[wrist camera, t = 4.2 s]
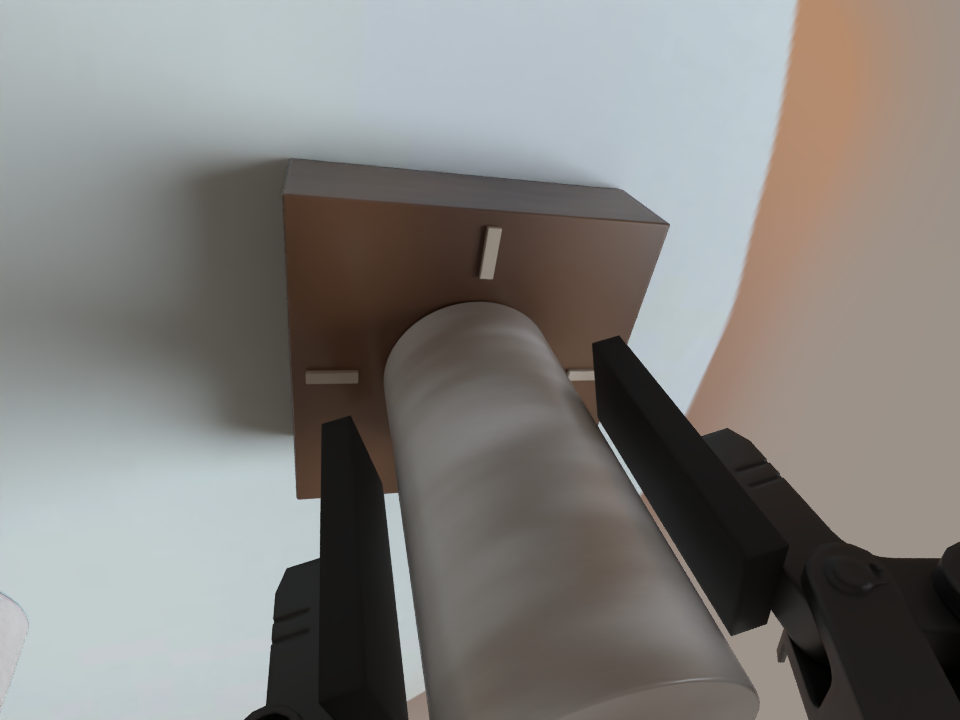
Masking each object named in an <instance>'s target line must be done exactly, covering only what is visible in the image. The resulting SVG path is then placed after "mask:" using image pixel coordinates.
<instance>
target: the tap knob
mask: <svg viewBox="0 0 960 720" xmlns="http://www.w3.org/2000/svg"><path fill="white" fill-rule="evenodd" d="M384 392H385V400H386V407H387V414H388V421H389V429H390V436H391V443H392V450H393V458H394V465H395V472H396V479H397V487H398V494H399V501H400V508H401V516H402V523H403V530H404V537H405V544H406V552H407V559H408V566H409V573H410V581H411V588H412V595H413V602H414V610H415V617H416V624H417V631H418V639H419V646H420V653H421V660H422V668H423V675H424V682H425V689H426V696H427V704H428V711H429V718H430V720H755V718H756V716H757V713H758V711H759V703H760V701H759V697H758V694H757V691H756V689H755V688H754V686H753V684H752V683H751V681H750V679H749V678H748V676H747V674H746V673H745V671H744V669H743V668H742V666H741V664H740V663H739V661H738V659H737V658H736V656H735V654H734V653H733V651H732V649H731V648H730V646H729V644H728V643H727V641H726V639H725V638H724V636H723V634H722V633H721V631H720V629H719V628H718V626H717V624H716V623H715V621H714V619H713V618H712V616H711V614H710V613H709V611H708V609H707V608H706V606H705V605H704V603H703V601H702V599H701V598H700V596H699V594H698V593H697V591H696V589H695V587H694V586H693V584H692V583H691V581H690V579H689V577H688V576H687V574H686V572H685V571H684V569H683V568H682V566H681V564H680V562H679V561H678V559H677V557H676V556H675V554H674V552H673V551H672V549H671V547H670V546H669V544H668V543H667V541H666V539H665V538H664V536H663V534H662V532H661V531H660V530H659V527H658V526H657V524H656V522H655V521H654V519H653V517H652V516H651V514H650V512H649V511H648V509H647V507H646V506H645V504H644V503H643V501H642V499H641V497H640V496H639V494H638V492H637V491H636V489H635V487H634V486H633V484H632V482H631V481H630V479H629V477H628V476H627V474H626V472H625V471H624V469H623V467H622V466H621V464H620V462H619V461H618V459H617V457H616V456H615V454H614V452H613V451H612V449H611V447H610V446H609V444H608V442H607V441H606V439H605V437H604V436H603V434H602V432H601V431H600V429H599V427H598V426H597V424H596V422H595V421H594V419H593V417H592V416H591V414H590V412H589V411H588V409H587V407H586V406H585V404H584V402H583V401H582V399H581V397H580V396H579V394H578V392H577V391H576V389H575V387H574V386H573V384H572V382H571V381H570V379H569V377H568V376H567V374H566V372H565V371H564V369H563V367H562V366H561V364H560V362H559V361H558V359H557V357H556V356H555V354H554V352H553V351H552V349H551V347H550V346H549V344H548V342H547V341H546V339H545V337H544V336H543V334H542V332H541V331H540V330H539V328H538V327H537V325H536V324H535V323H534V322H533V321H532V320H531V319H529V318H528V317H527V316H525V315H524V314H523V313H521V312H519V311H517V310H515V309H513V308H510V307H507V306H505V305H501V304H496V303H491V302H467V303H460V304H455V305H452V306H448V307H445V308H442V309H440V310H437V311H435V312H433V313H431V314H429V315H427V316H425V317H424V318H422V319H421V320H419V321H418V322H416V323H415V324H414V325H413V326H412V327H410V328H409V329H408V330H407V331H406V332H405V333H404V334H403V335H402V337H401V338H400V339H399V340H398V342H397V343H396V345H395V346H394V347H393V349H392V351H391V353H390V355H389V357H388V360H387V363H386V366H385V371H384Z"/></svg>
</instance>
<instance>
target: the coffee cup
mask: <svg viewBox="0 0 960 720" xmlns="http://www.w3.org/2000/svg"><path fill="white" fill-rule="evenodd" d="M28 629H29V624H28V620H27V617H26V615H25V613H24V612H23V611H22V609H21V608H20V607H19V606H18V605H17V604H16V603H14V602H13V601H12V600H10V599H9V598H7V597H6V596H4V595H2V594H1V593H0V712H1V709H2V706H3V703H4V701H5V698H6V695H7V692H8V689H9V686H10V683H11V680H12V678H13V675H14V672H15V669H16V666H17V663H18V660H19V657H20V655H21V652H22V649H23V646H24V643H25V640H26V637H27V634H28Z"/></svg>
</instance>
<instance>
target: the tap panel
mask: <svg viewBox="0 0 960 720" xmlns="http://www.w3.org/2000/svg"><path fill="white" fill-rule="evenodd" d="M282 203H283V223H284V244H285V265H286V286H287V307H288V328H289V349H290V370H291V391H292V412H293V433H294V454H295V475H296V496H297V499H299V500H300V499H315V498H321V427H322V424H323V423H326V422H330V421H333V420H336V419H340V418H343V417H346V416H350V415H351V417H352V419H353V421H354V423H355V425H356V427H357V430H358V432H359V434H360V436H361V438H362V440H363V443H364V445H365V447H366V449H367V451H368V453H369V455H370V458H371V460H372V462H373V464H374V466H375V468H376V470H377V473H378V475H379V477H380V479H381V481H382V483H383V492H384V494H388V493H398V487H397V479H396V472H395V465H394V458H393V450H392V443H391V436H390V429H389V421H388V414H387V407H386V400H385V392H384V371H385V366H386V363H387V360H388V357H389V355H390V353H391V351H392V349H393V347H394V346H395V345H396V343H397V342H398V340H399V339H400V338H401V337H402V335H403V334H404V333H405V332H406V331H407V330H408V329H409V328H410V327H412V326H413V325H414V324H415V323H416V322H418V321H419V320H421V319H422V318H424V317H425V316H427V315H429V314H431V313H433V312H435V311H437V310H440V309H442V308H445V307H448V306H452V305H455V304H460V303H467V302H491V303H496V304H501V305H505V306H507V307H510V308H513V309H515V310H517V311H519V312H521V313H523V314H524V315H525V316H527V317H528V318H529V319H531V320H532V321H533V322H534V323H535V324H536V325H537V327H538V328H539V330H540V331H541V332H542V334H543V336H544V337H545V339H546V341H547V342H548V344H549V346H550V347H551V349H552V351H553V352H554V354H555V356H556V357H557V359H558V361H559V362H560V364H561V366H562V367H563V369H564V371H565V372H566V374H567V376H568V377H569V379H570V381H571V382H572V384H573V386H574V387H575V389H576V391H577V392H578V394H579V396H580V397H581V399H582V401H583V402H584V404H585V406H586V407H587V409H588V411H589V412H590V414H591V416H592V417H593V419H594V421H595V422H596V424H597V426H598V424H599V419H598V417H597V405H596V391H595V378H594V365H593V352H592V343H594V342H598V341H601V340H604V339H608V338H611V337H615V336H618V335H619V336H620V337H621V338H622V339H623V341H624V342H625V343H626V344H627V343H628V340H629V338H630V335H631V332H632V329H633V327H634V324H635V321H636V318H637V315H638V313H639V310H640V307H641V304H642V301H643V299H644V296H645V293H646V290H647V288H648V285H649V282H650V279H651V276H652V274H653V271H654V268H655V265H656V263H657V260H658V257H659V254H660V251H661V249H662V246H663V243H664V240H665V238H666V235H667V232H668V229H669V226H670V224H669V223H667V222H666V221H665V220H663V219H662V218H661V217H659V216H658V215H656V214H655V213H654V212H652V211H651V210H650V209H648V208H647V207H645V206H644V205H643V204H641V203H640V202H639V201H637V200H636V199H635V198H633V197H632V196H630V195H629V194H628V193H626V192H625V191H624V190H619V189H608V188H598V187H587V186H577V185H566V184H556V183H545V182H534V181H524V180H513V179H503V178H492V177H482V176H471V175H460V174H450V173H439V172H429V171H418V170H408V169H397V168H387V167H376V166H365V165H355V164H344V163H334V162H323V161H313V160H302V159H290V160H289V165H288V170H287V175H286V180H285V185H284V190H283V195H282Z"/></svg>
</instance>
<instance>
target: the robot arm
mask: <svg viewBox="0 0 960 720" xmlns="http://www.w3.org/2000/svg"><path fill="white" fill-rule="evenodd" d="M592 352H593V365H594V378H595V391H596V405H597V417H598V419H599V421H600V422H601V424H602V426H603V427H604V429H605V431H606V432H607V434H608V435H609V437H610V439H611V440H612V442H613V444H614V445H615V447H616V449H617V450H618V452H619V453H620V455H621V457H622V458H623V460H624V462H625V463H626V465H627V467H628V468H629V470H630V471H631V473H632V475H633V476H634V478H635V480H636V481H637V483H638V485H639V486H640V488H641V489H642V491H643V493H644V494H645V496H646V498H647V499H648V501H649V502H650V504H651V506H652V507H653V509H654V511H655V512H656V514H657V516H658V517H659V519H660V521H661V522H662V524H663V525H664V527H665V529H666V530H667V532H668V533H669V535H670V537H671V539H672V540H673V542H674V543H675V545H676V547H677V548H678V550H679V552H680V553H681V555H682V556H683V558H684V560H685V561H686V563H687V565H688V566H689V568H690V569H691V571H692V573H693V574H694V576H695V578H696V579H697V581H698V583H699V584H700V586H701V588H702V589H703V591H704V593H705V594H706V596H707V597H708V599H709V601H710V602H711V604H712V606H713V607H714V609H715V610H716V612H717V614H718V615H719V617H720V619H721V620H722V622H723V624H724V625H725V627H726V629H727V630H728V632H729V633H730V635H731V636H733V635H736V634H739V633H742V632H745V631H748V630H751V629H754V628H757V627H759V626H762V625H765V624H767V622H768V618H769V614H770V611H771V610H772V612H773V613H774V615H775V616H776V617H777V619H778V620H779V622H780V623H781V625H782V626H783V627H784V630H783V633H782V636H781V639H780V642H779V645H778V648H777V657H778V662H785V659H786V656H787V655H788V658H789V661H790V664H791V667H792V670H793V673H794V676H795V679H796V682H797V686H798V689H799V692H800V695H801V697H802V701H803V704H804V707H805V710H806V713H807V716H808V719H809V720H960V542H958V543H956V544H954V545H952V546H950V547H948V548H947V549H946V551H945V552H944V554H943V556H942V558H886V557H879V556H875V555H872V554H871V553H870V552H868V551H866V550H864V549H862V548H859V547H857V546H854V545H852V544H847V543H846V542H844V541H843V540H841V539H840V538H839V537H838V536H837V535H836V534H835V533H833V532H832V531H831V530H830V528H829V527H828V526H827V525H826V524H825V523H824V522H823V521H822V520H821V519H820V517H819V516H818V515H817V514H816V513H815V512H814V511H813V510H812V509H811V508H810V506H809V505H808V504H807V503H806V502H805V501H804V500H803V499H802V498H801V496H800V495H799V494H798V493H797V492H796V491H795V490H794V489H793V488H792V487H791V485H790V484H789V483H788V482H787V481H786V480H785V479H784V478H782V477H781V476H780V473H779V472H778V471H777V470H776V469H775V468H774V467H773V466H772V465H771V463H768V462H767V459H766V458H765V457H764V456H763V455H762V454H761V452H760V451H759V450H758V449H757V448H756V447H755V446H754V445H753V444H752V442H751V441H749V440H748V439H746V438H744V437H742V436H740V435H739V434H737V433H735V432H734V431H732V430H730V429H728V428H726V429H723V430H720V431H717V432H713V433H710V434H707V435H704V436H700V434H699V433H698V432H697V431H696V429H695V428H694V427H693V426H692V425H691V423H690V422H689V421H688V420H687V418H686V417H685V416H684V415H683V413H682V412H681V411H680V410H679V408H678V407H677V406H676V405H675V404H674V402H673V401H672V400H671V399H670V397H669V396H668V395H667V394H666V392H665V391H664V390H663V389H662V387H661V386H660V385H659V384H658V383H657V381H656V380H655V379H654V378H653V376H652V375H651V374H650V373H649V371H648V370H647V369H646V368H645V366H644V365H643V364H642V363H641V362H640V360H639V359H638V358H637V357H636V355H635V354H634V353H633V352H632V350H631V349H630V348H629V347H628V345H627V344H626V343H625V342H624V341H623V339H622V338H621V337H620V336H619V335H618V336H615V337H611V338H608V339H604V340H601V341H598V342H594V343H592ZM273 620H274V624H273V628H272V645H271V652H270V664H269V676H268V688H267V700H266V706H264V707H262V708H260V709H258V710H256V711H254V712H252V713H251V714H250V715H249V716H248V717H246V718H245V719H244V720H408V712H407V702H406V693H405V684H404V674H403V665H402V656H401V647H400V638H399V629H398V620H397V611H396V601H395V592H394V583H393V574H392V565H391V556H390V547H389V537H388V528H387V519H386V510H385V501H384V492H383V483H382V481H381V479H380V477H379V475H378V473H377V470H376V468H375V466H374V464H373V462H372V460H371V458H370V455H369V453H368V451H367V449H366V447H365V445H364V443H363V440H362V438H361V436H360V434H359V432H358V430H357V427H356V425H355V423H354V421H353V419H352V417H351V415H350V416H346V417H343V418H340V419H336V420H333V421H330V422H326V423H323V424H322V427H321V512H320V558H318V559H315V560H312V561H309V562H306V563H303V564H299V565H296V566H293V567H290V568H287V569H286V571H285V573H284V576H283V578H282V580H281V582H280V584H279V587H278V589H277V591H276V593H275V604H274V616H273Z"/></svg>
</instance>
